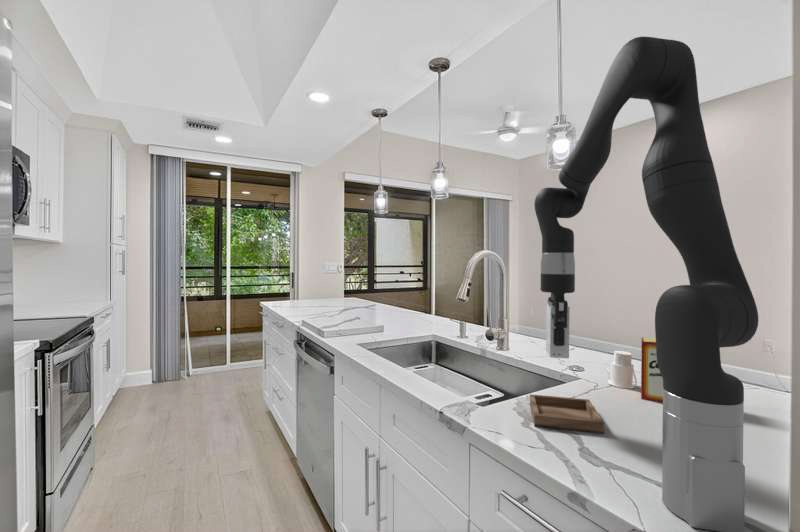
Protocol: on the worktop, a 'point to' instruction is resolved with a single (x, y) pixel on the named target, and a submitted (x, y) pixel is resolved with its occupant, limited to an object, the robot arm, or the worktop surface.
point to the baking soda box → (650, 372)
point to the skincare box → (550, 347)
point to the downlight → (622, 370)
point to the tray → (565, 414)
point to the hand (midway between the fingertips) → (556, 342)
